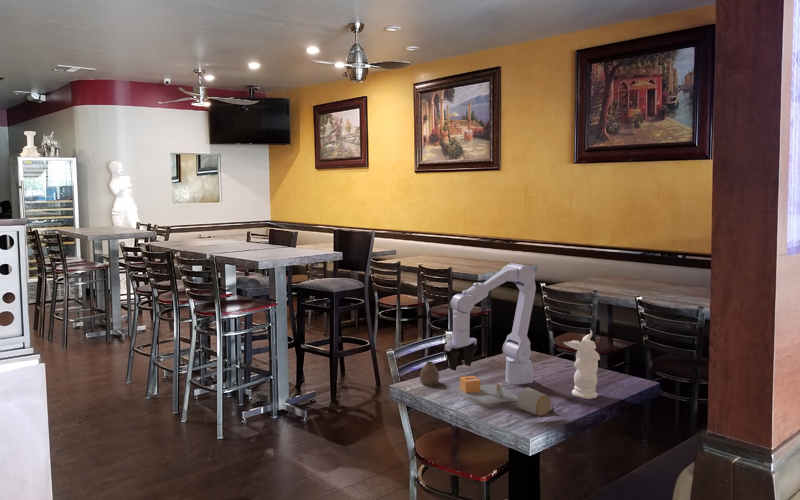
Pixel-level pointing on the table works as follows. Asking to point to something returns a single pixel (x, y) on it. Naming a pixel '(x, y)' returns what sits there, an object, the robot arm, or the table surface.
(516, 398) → the board
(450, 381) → the table surface
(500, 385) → the grey cubby insert
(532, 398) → the ceramic mug
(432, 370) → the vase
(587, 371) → the cherub figurine
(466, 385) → the orange cubby crate
